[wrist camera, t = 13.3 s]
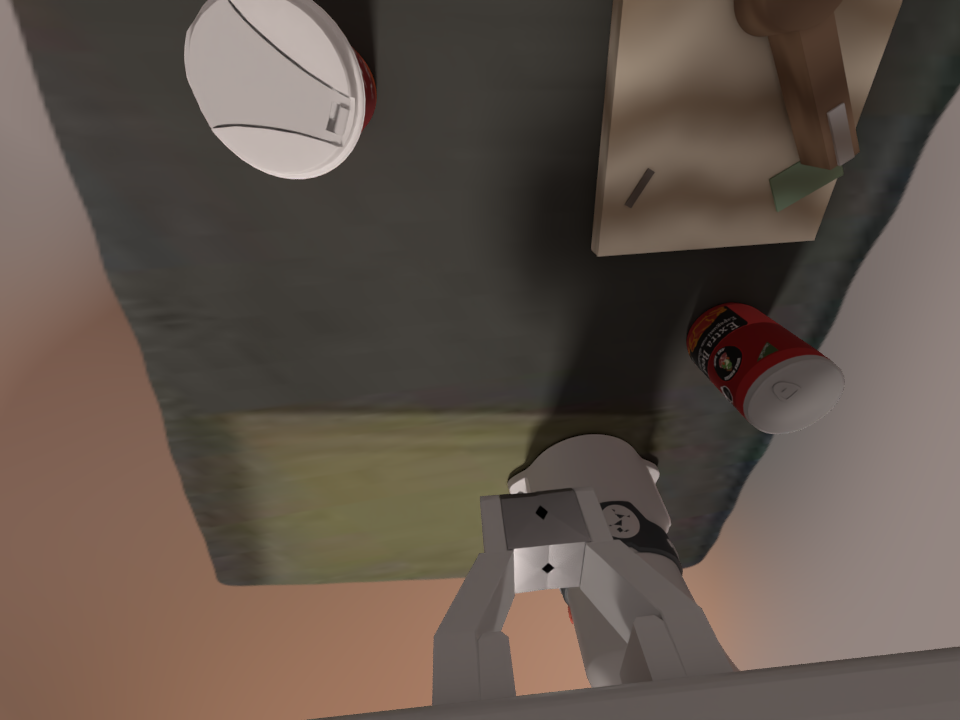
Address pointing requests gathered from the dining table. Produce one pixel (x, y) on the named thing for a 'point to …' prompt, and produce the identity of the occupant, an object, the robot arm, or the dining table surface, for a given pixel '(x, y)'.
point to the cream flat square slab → (712, 129)
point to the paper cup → (279, 84)
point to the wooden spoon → (807, 74)
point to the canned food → (764, 368)
